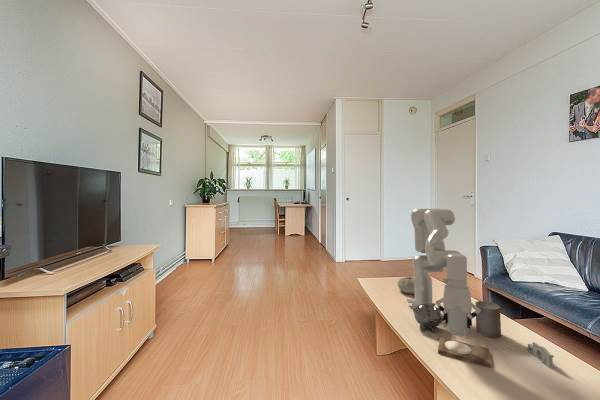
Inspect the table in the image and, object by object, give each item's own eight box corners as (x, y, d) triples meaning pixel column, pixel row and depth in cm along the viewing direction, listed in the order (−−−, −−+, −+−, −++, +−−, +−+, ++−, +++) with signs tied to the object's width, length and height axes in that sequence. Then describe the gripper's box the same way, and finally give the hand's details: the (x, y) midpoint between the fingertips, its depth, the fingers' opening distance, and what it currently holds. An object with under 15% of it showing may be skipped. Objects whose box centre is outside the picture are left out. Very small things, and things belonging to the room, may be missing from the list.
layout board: (437, 353, 107) (437, 349, 107) (440, 339, 117) (440, 336, 117) (491, 367, 97) (491, 363, 97) (488, 352, 107) (488, 348, 107)
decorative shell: (395, 287, 189) (394, 273, 189) (420, 288, 186) (420, 274, 186) (401, 296, 171) (401, 281, 171) (429, 297, 169) (429, 282, 169)
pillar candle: (496, 329, 126) (495, 299, 126) (504, 339, 116) (503, 307, 117) (473, 326, 129) (472, 297, 129) (479, 336, 120) (478, 304, 120)
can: (471, 338, 104) (471, 308, 104) (451, 336, 105) (450, 307, 105) (463, 329, 111) (463, 301, 111) (444, 327, 113) (444, 300, 113)
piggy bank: (448, 334, 122) (448, 310, 122) (415, 331, 125) (415, 308, 125) (440, 323, 133) (439, 301, 133) (409, 321, 136) (409, 299, 136)
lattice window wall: (526, 350, 108) (526, 336, 108) (531, 350, 108) (531, 337, 108) (549, 368, 97) (548, 353, 97) (554, 369, 96) (554, 353, 96)
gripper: (433, 282, 110) (433, 323, 110) (482, 289, 101) (483, 334, 100) (434, 277, 116) (435, 316, 116) (481, 284, 107) (482, 326, 107)
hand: (457, 324), depth 108 cm, fingers closed on can, 7 cm apart
